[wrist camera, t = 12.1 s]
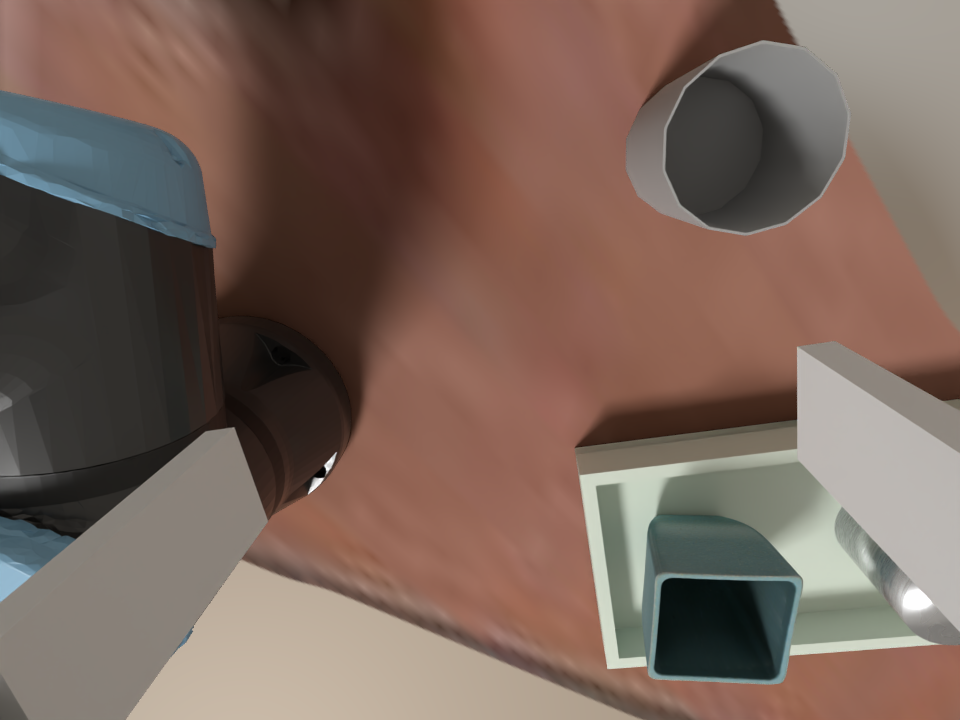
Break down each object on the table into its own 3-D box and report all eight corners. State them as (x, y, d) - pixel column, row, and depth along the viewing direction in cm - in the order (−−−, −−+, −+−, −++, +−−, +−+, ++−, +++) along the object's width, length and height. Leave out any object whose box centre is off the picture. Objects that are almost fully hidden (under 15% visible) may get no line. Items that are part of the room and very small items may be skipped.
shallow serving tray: (601, 629, 48) (607, 669, 44) (574, 447, 42) (579, 475, 39) (950, 600, 44) (990, 640, 41) (972, 397, 39) (1020, 421, 35)
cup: (790, 132, 34) (890, 119, 25) (698, 242, 37) (758, 267, 27) (684, 46, 33) (749, -2, 24) (598, 166, 36) (625, 165, 26)
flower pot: (624, 585, 45) (647, 681, 37) (629, 492, 42) (656, 573, 34) (735, 587, 44) (785, 686, 36) (748, 493, 42) (805, 576, 33)
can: (833, 564, 43) (899, 649, 36) (835, 488, 41) (905, 560, 33) (930, 555, 42) (1019, 640, 35) (938, 476, 40) (1034, 548, 32)
